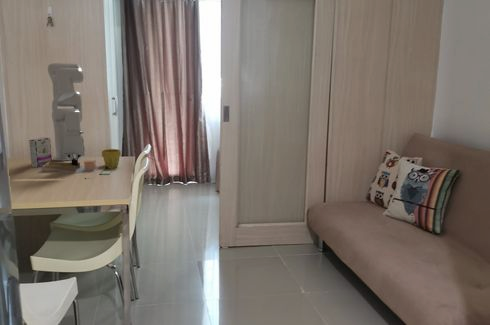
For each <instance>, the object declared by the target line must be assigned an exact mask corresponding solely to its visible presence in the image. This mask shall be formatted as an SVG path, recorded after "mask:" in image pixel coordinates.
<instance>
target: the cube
mask: <svg viewBox="0 0 490 325" xmlns="http://www.w3.org/2000/svg"><path fill="white" fill-rule="evenodd" d="M83 166H84V167H83V168H85V171H94V170H95V169H96V166H97V160H96V159H86V160H84V162H83Z"/></svg>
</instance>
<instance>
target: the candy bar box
mask: <svg viewBox="0 0 490 325" xmlns="http://www.w3.org/2000/svg"><path fill="white" fill-rule="evenodd" d="M28 141H29V142H28V143H29V152H30V164H31V168H40V167H41V168H42V166H43V165H45V164H47V163H53V158H52V146H51V138H50V137H40V138H34V139H29V140H28Z"/></svg>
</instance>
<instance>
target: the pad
mask: <svg viewBox="0 0 490 325" xmlns="http://www.w3.org/2000/svg"><path fill="white" fill-rule="evenodd" d="M111 174H112V170H102V171H100V173H99V174H98V175H99V176H100V175H101V176H105V175H108V176H109V175H111Z"/></svg>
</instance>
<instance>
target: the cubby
mask: <svg viewBox="0 0 490 325" xmlns="http://www.w3.org/2000/svg"><path fill="white" fill-rule="evenodd" d="M80 166H81V162H78V165H77V167H76V166H73V165H72V162H52V163H47V164H45V165H43V166H41V168H42V169H41V170H42V171H43V172H71V171H76V168H80Z"/></svg>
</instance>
